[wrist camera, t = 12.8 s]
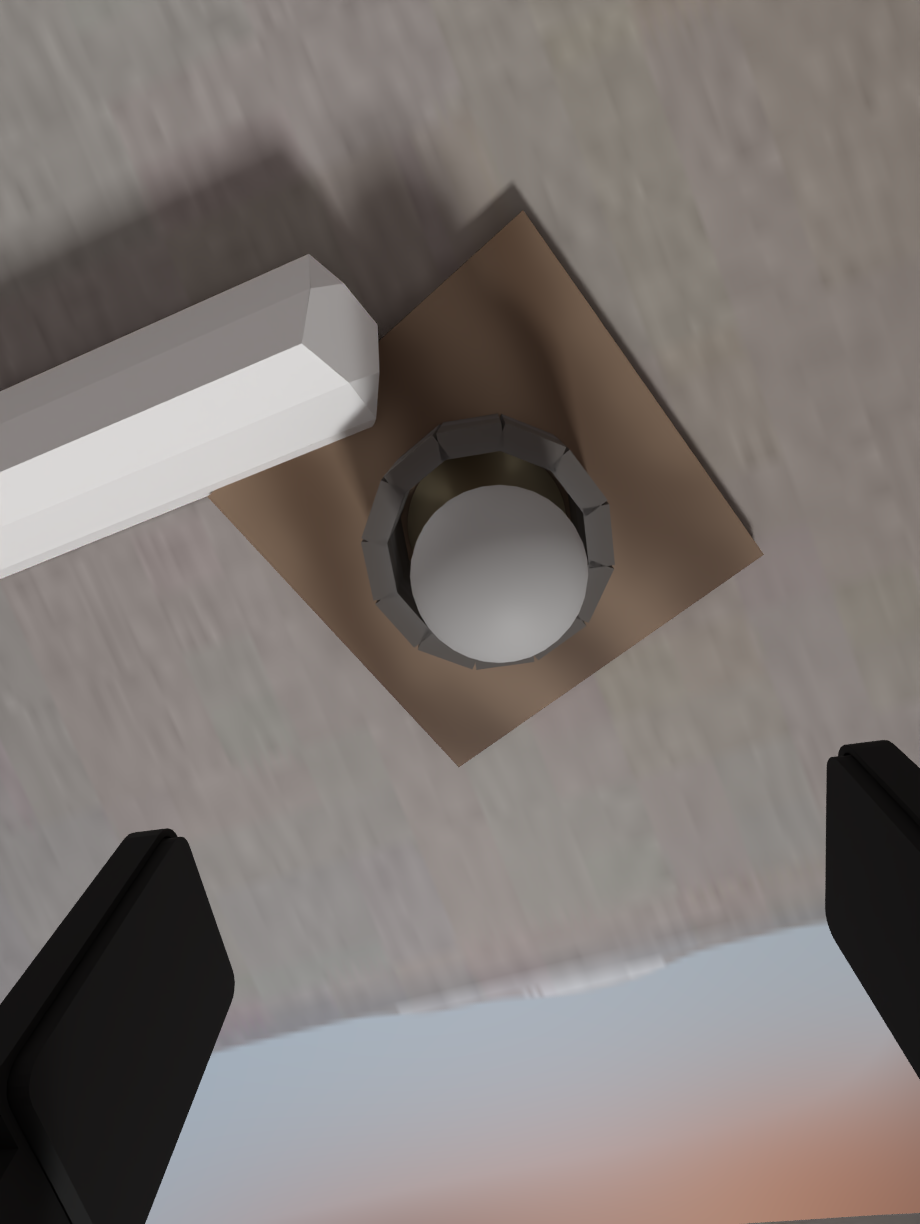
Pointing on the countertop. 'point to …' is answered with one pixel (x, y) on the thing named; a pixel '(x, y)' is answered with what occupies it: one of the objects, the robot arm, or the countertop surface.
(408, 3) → the countertop surface
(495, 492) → the lightbulb
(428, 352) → the socket
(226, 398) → the crystal
